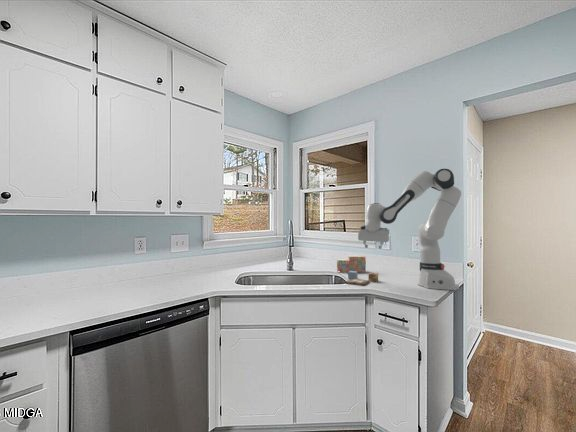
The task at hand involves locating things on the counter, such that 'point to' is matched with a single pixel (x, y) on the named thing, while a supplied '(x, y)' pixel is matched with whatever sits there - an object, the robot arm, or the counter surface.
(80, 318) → the counter surface
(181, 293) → the counter surface
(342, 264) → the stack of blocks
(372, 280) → the oak block
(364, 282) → the baseplate
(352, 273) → the slate block
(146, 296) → the counter surface
